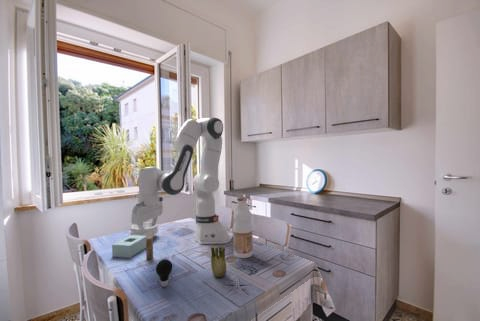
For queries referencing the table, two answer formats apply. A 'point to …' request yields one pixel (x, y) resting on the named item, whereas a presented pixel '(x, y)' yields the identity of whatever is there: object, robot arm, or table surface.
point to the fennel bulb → (218, 261)
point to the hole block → (129, 246)
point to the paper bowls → (148, 232)
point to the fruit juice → (242, 230)
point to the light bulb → (164, 271)
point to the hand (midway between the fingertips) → (148, 228)
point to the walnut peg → (149, 248)
